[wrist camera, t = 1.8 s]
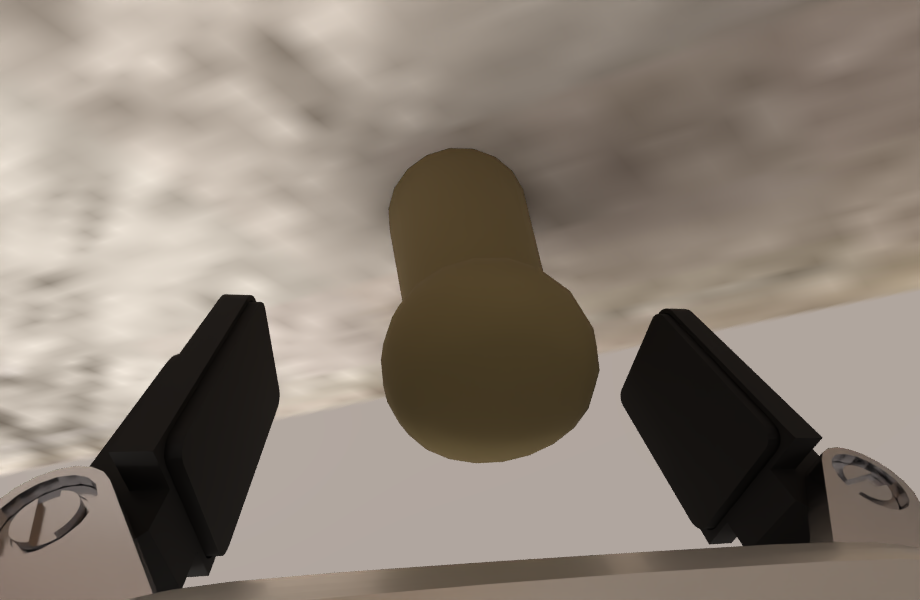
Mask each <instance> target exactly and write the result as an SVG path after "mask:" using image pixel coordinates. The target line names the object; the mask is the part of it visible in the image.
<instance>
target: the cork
mask: <svg viewBox="0 0 920 600" xmlns="http://www.w3.org/2000/svg"><path fill="white" fill-rule="evenodd" d="M389 224H390V233H391V239H392V245H393V250H394V256H395V262H396V267H397V273H398V279H399V284H400V290H401V296H402V303H401V304H400V305H399V307H398V308H397V310H396V312H395V313H394V315H393V317H392V319H391V322H390V325H389V328H388V331H387V334H386V337H385V340H384V343H383V350H382V357H381V365H382V376H383V386H384V390H385V394H386V399H387V402H388V404H389V406H390V407H391V409H392V411H393V413H394V415H395V416H396V418H397V420H398V422H399V423H400V425H401V426H402V427H403V428H404V429H405V431H406V432H407V433H408V434H409V435H410V436H411V437H412V438H413V439H415V440H416V441H417V442H418V443H419V444H421V445H422V446H423V447H424V448H425V449H427V450H429V451H431V452H434V453H436V454H439V455H441V456H443V457H446V458H448V459H453V460H459V461H465V462H471V463H489V462H504V461H507V460H512V459H516V458H520V457H524V456H528V455H531V454H533V453H535V452H537V451H539V450H541V449H543V448H546V447H548V446H550V445H552V444H554V443H555V442H557V440H559V439H560V438H562V437H563V436H564V435H565V434H567V433H568V432H569V431H571V430H572V429H573V428H574V427H575V426H576V425H577V423H578V421H579V420H580V419H581V418H582V416H583V415H584V414H585V412H586V411H587V410H588V408H589V404H590V401H591V398H592V395H593V391H594V388H595V385H596V381H597V378H598V374H599V362H598V354H597V346H596V340H595V335H594V329H593V327H592V326H591V324H590V322H589V321H588V319H587V318H586V316H585V314H584V313H583V311H582V309H581V308H580V306H579V305H578V303H577V301H576V300H575V298H574V297H573V295H572V293H571V292H570V291H569V290H568V289H566V288H565V287H564V286H562V285H561V284H559V283H558V282H557V281H555V280H554V279H553V278H551V277H550V276H548V275H547V274H546V273H544V272H543V269H542V265H541V261H540V257H539V253H538V249H537V245H536V241H535V237H534V232H533V228H532V224H531V220H530V216H529V212H528V208H527V204H526V200H525V196H524V192H523V189H522V187H521V185H520V184H519V182H518V180H517V179H516V177H515V175H514V174H513V172H512V171H511V170H510V169H509V168H508V167H507V166H505V165H504V164H503V163H502V162H500V161H499V160H498V159H497V158H496V157H494V156H491V155H488V154H486V153H483V152H480V151H478V150H475V149H457V148H449V149H446V150H442V151H439V152H436V153H433V154H430V155H427V156H425V157H424V158H422V159H421V160H420V161H418V162H417V163H416V164H414V165H413V166H412V167H410V168H409V169H407V171H406V172H405V174H404V175H403V177H402V178H401V180H400V181H399V182H398V184H397V185H396V187H395V188H394V192H393V195H392V199H391V202H390V206H389Z"/></svg>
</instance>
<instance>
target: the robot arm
mask: <svg viewBox="0 0 920 600" xmlns="http://www.w3.org/2000/svg"><path fill="white" fill-rule="evenodd" d="M279 397H280V392H279V385H278V380H277V374H276V368H275V362H274V357H273V351H272V345H271V339H270V334H269V328H268V322H267V317H266V311H265V306H264V304H263V303H262V302H256V300H255V298H254V296H252V295H228V294H225V295H222V296H221V297H220V299H219V300H218V301H217V303H216V304H215V305H214V307H213V308H212V310H211V311H210V312H209V314H208V315H207V317H206V318H205V319H204V321H203V322H202V323H201V325H200V326H199V328H198V329H197V330H196V332H195V333H194V334H193V336H192V337H191V339H190V340H189V341H188V343H187V344H186V346H185V347H184V348H183V350H182V351H181V352H180V354H177V355H175V356H173V357H172V358H171V359H170V360H169V361H168V362H167V363H166V364H165V366H164V367H163V368H162V370H161V371H160V372H159V374H158V375H157V376H156V378H155V379H154V380H153V382H152V383H151V385H150V386H149V387H148V389H147V390H146V391H145V393H144V394H143V395H142V397H141V398H140V399H139V401H138V402H137V403H136V405H135V406H134V407H133V409H132V410H131V411H130V413H129V414H128V415H127V417H126V418H125V420H124V421H123V422H122V424H121V425H120V426H119V428H118V429H117V430H116V432H115V433H114V434H113V436H112V437H111V438H110V440H109V441H108V442H107V444H106V445H105V446H104V448H103V449H102V450H101V452H100V453H99V454H98V456H97V457H96V459H95V460H94V461H93V463H92V464H91V465H90V467H85V466H73V467H68V468H62V469H57V470H54V471H51V472H48V473H45V474H43V475H40V476H37V477H35V478H33V479H31V480H29V481H27V482H25V483H23V484H22V485H20V486H18V487H16V488H14V489H13V490H11V491H10V492H9V493H8V494H6V495H5V496H3V497H2V498H0V600H920V502H919V500H918V498H917V497H916V495H915V493H914V492H913V491H912V490H911V488H910V487H909V486H908V485H907V484H906V483H905V482H904V481H903V480H902V479H901V478H899V477H898V476H897V475H896V474H895V473H893V472H892V471H891V470H889V469H888V468H886V467H885V466H883V465H882V464H880V463H879V462H877V461H875V460H873V459H871V458H869V457H867V456H865V455H863V454H860V453H858V452H855V451H852V450H849V449H844V448H838V447H835V448H828V449H827V450H825V451H824V452H823V453H822V454H821V455H820V456H819V455H818V454H817V453H816V452H815V451H814V450H813V448H814V446H816V444H817V443H818V442H819V441H820V440H821V439H822V437H821V436H820V435H819V434H818V433H817V432H816V431H815V430H814V429H813V428H812V427H811V426H810V425H809V424H808V423H807V422H806V421H805V420H804V419H803V418H802V417H801V416H800V415H798V414H797V413H796V412H795V411H794V410H793V409H792V408H791V407H790V406H789V405H788V404H787V403H786V402H785V401H784V400H783V399H782V398H781V397H780V396H779V395H778V394H777V393H776V392H774V391H773V390H772V389H771V388H770V387H769V386H768V385H767V384H766V383H765V382H764V381H763V380H762V379H761V378H760V377H759V376H758V375H757V374H756V373H755V372H754V371H753V370H752V369H751V368H750V367H749V366H747V365H746V364H745V363H744V362H743V361H742V360H741V359H740V358H739V357H738V356H737V355H736V354H735V353H734V352H733V351H732V350H731V349H730V348H729V347H727V345H726V344H725V343H724V342H722V340H720V339H719V338H718V337H717V336H716V335H715V334H714V333H713V332H712V331H711V330H710V329H709V328H708V327H707V326H706V325H705V324H704V323H703V322H702V321H701V320H700V319H699V318H698V317H697V316H696V315H694V314H693V313H692V312H691V311H690V310H687V309H663V310H661V311H660V312H659V314H657V315H655V316H654V317H653V319H652V321H651V323H650V325H649V328H648V330H647V332H646V335H645V337H644V339H643V342H642V344H641V346H640V349H639V351H638V353H637V356H636V358H635V360H634V363H633V365H632V367H631V369H630V372H629V374H628V376H627V379H626V381H625V383H624V385H623V388H622V390H621V401H622V404H623V406H624V408H625V410H626V411H627V413H628V415H629V416H630V418H631V420H632V422H633V423H634V425H635V426H636V428H637V430H638V432H639V434H640V435H641V437H642V438H643V440H644V442H645V444H646V445H647V447H648V449H649V451H650V452H651V454H652V456H653V457H654V459H655V461H656V462H657V464H658V466H659V467H660V469H661V471H662V473H663V474H664V476H665V478H666V479H667V481H668V483H669V484H670V486H671V488H672V490H673V491H674V493H675V495H676V496H677V498H678V500H679V502H680V503H681V505H682V507H683V508H684V510H685V512H686V514H687V515H688V517H689V519H690V520H691V522H692V523H693V524H694V525H695V526H696V527H697V528H699V529H700V530H701V531H702V533H703V535H704V536H705V538H706V540H707V541H708V543H709V544H722V543H732V542H733V540H734V539H735V538H736V537H738V539H739V540H740V542H741V543H742V545H743V546H739V547H722V548H705V549H688V550H670V551H653V552H637V553H623V554H622V553H621V554H606V555H590V556H574V557H560V558H559V557H558V558H543V559H528V560H514V561H497V562H482V563H468V564H454V565H441V566H425V567H410V568H395V569H381V570H367V571H353V572H339V573H326V574H315V575H304V576H292V577H281V578H270V579H257V580H246V581H236V582H235V581H234V582H226V583H218V584H211V585H203V586H196V587H188V588H182V587H183V585H184V582H185V580H186V577H196V576H209V573H210V571H211V568H212V565H213V562H214V560H215V557H216V556H223V555H224V554H225V553H226V551H227V549H228V546H229V544H230V541H231V539H232V535H233V532H234V530H235V527H236V524H237V521H238V519H239V516H240V513H241V510H242V507H243V504H244V502H245V499H246V496H247V493H248V490H249V487H250V484H251V482H252V479H253V476H254V473H255V470H256V468H257V465H258V462H259V459H260V456H261V453H262V450H263V448H264V445H265V442H266V439H267V436H268V433H269V430H270V428H271V425H272V422H273V419H274V416H275V414H276V411H277V408H278V404H279Z"/></svg>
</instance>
